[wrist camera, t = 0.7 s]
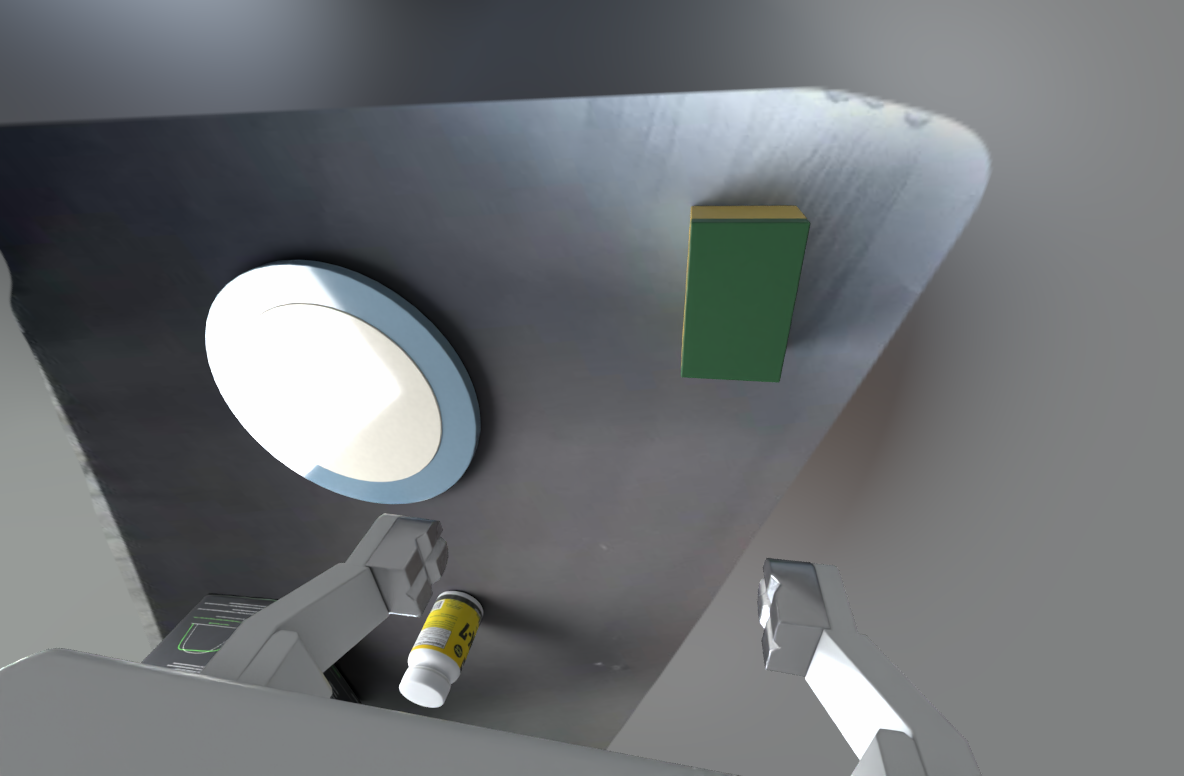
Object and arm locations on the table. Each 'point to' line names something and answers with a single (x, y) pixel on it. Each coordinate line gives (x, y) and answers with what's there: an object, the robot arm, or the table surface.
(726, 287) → the sponge
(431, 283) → the table surface
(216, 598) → the headset box
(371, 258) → the table surface
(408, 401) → the plate
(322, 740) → the robot arm
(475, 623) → the supplement bottle
